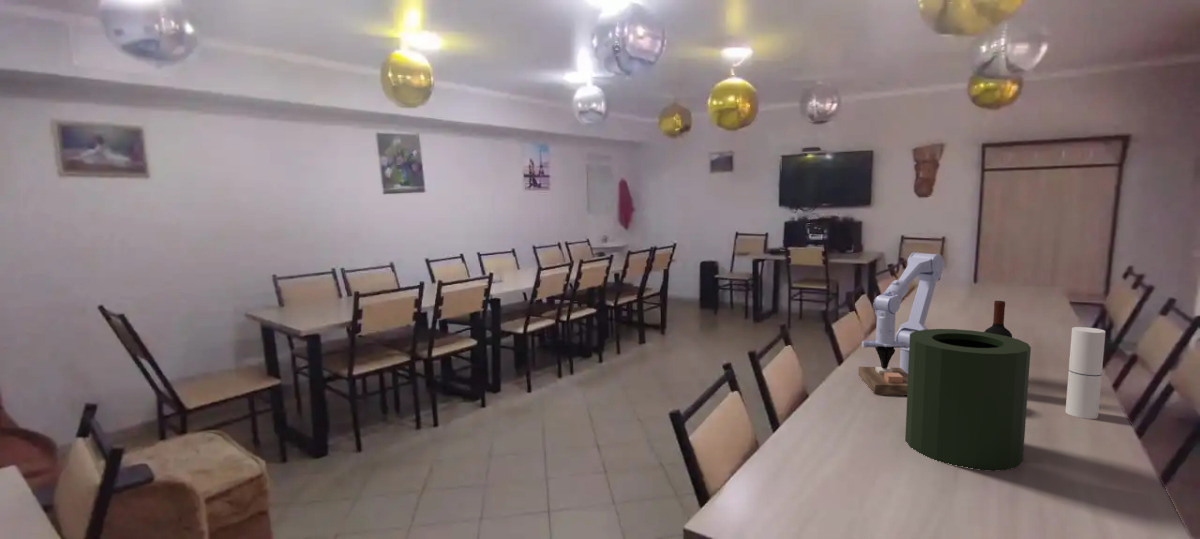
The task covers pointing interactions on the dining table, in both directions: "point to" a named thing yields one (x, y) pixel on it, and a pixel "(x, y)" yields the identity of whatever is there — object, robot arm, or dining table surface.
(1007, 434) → the flower pot
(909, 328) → the robot arm
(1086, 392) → the cylindrical container
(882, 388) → the key panel
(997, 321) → the wine bottle
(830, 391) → the dining table surface
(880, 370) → the off white key
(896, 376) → the salmon orange square block
